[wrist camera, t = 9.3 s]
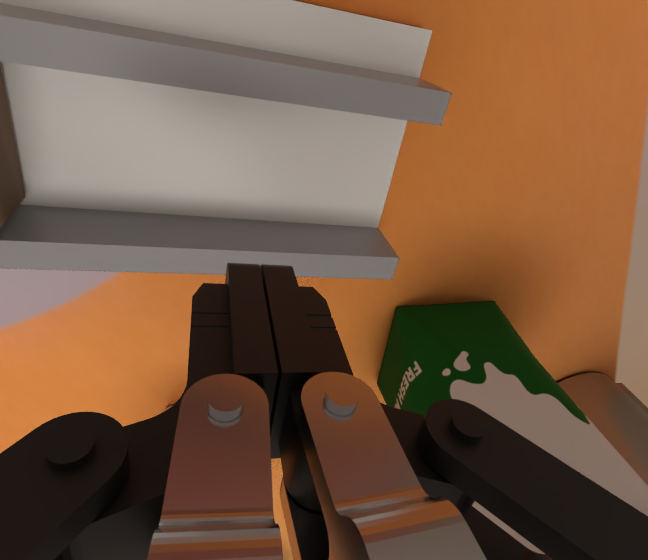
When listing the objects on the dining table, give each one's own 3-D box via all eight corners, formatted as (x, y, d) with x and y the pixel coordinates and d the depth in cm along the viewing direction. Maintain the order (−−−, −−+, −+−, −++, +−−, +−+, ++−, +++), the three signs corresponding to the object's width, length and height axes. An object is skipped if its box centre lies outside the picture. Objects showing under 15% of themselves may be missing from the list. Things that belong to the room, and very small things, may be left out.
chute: (422, 28, 19) (468, 38, 15) (359, 266, 25) (382, 309, 22) (-383, -147, 12) (-604, -194, 8) (-186, 246, 18) (-270, 305, 15)
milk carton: (384, 295, 27) (663, 776, 11) (512, 288, 29) (902, 677, 13) (362, 393, 31) (531, 827, 15) (473, 381, 34) (721, 748, 18)
